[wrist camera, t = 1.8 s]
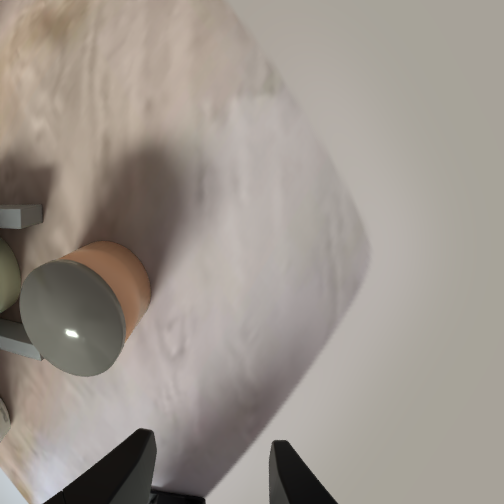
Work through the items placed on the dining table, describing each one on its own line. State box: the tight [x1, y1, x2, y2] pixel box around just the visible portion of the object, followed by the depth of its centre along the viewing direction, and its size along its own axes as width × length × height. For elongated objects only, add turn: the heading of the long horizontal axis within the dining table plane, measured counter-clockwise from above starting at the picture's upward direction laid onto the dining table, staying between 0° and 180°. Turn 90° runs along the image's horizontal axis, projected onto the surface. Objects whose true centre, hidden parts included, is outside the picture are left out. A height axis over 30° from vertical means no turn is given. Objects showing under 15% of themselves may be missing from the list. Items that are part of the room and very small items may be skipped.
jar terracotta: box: [19, 241, 151, 377], centre depth 17 cm, size 6×6×6 cm
